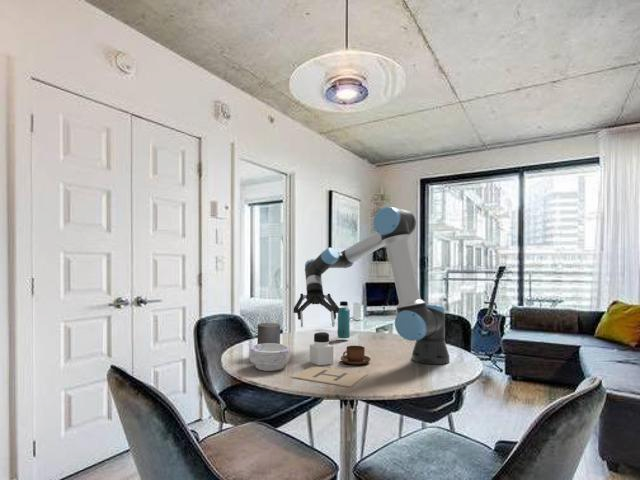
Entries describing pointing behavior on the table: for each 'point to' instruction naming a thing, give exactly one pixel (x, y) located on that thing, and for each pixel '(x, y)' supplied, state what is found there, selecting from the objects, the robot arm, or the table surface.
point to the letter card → (330, 376)
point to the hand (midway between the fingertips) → (317, 325)
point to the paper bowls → (269, 356)
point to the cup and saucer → (355, 355)
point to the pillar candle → (268, 333)
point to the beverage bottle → (343, 321)
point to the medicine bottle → (321, 350)
